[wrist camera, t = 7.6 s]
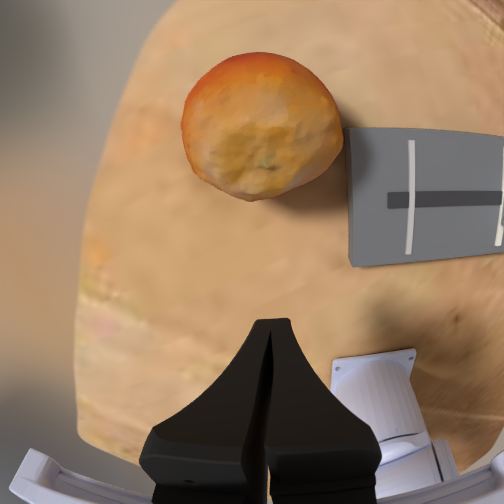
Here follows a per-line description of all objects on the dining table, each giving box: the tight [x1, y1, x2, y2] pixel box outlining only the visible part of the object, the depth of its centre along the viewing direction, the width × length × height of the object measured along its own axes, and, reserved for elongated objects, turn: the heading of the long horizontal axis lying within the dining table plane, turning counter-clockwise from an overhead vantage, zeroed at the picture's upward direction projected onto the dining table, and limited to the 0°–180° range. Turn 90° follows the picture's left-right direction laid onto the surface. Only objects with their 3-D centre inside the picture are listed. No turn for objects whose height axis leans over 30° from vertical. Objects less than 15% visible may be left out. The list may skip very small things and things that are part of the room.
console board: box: [344, 128, 504, 267], centre depth 17 cm, size 9×16×2 cm, turn 97°
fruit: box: [181, 52, 344, 202], centre depth 15 cm, size 8×8×8 cm
